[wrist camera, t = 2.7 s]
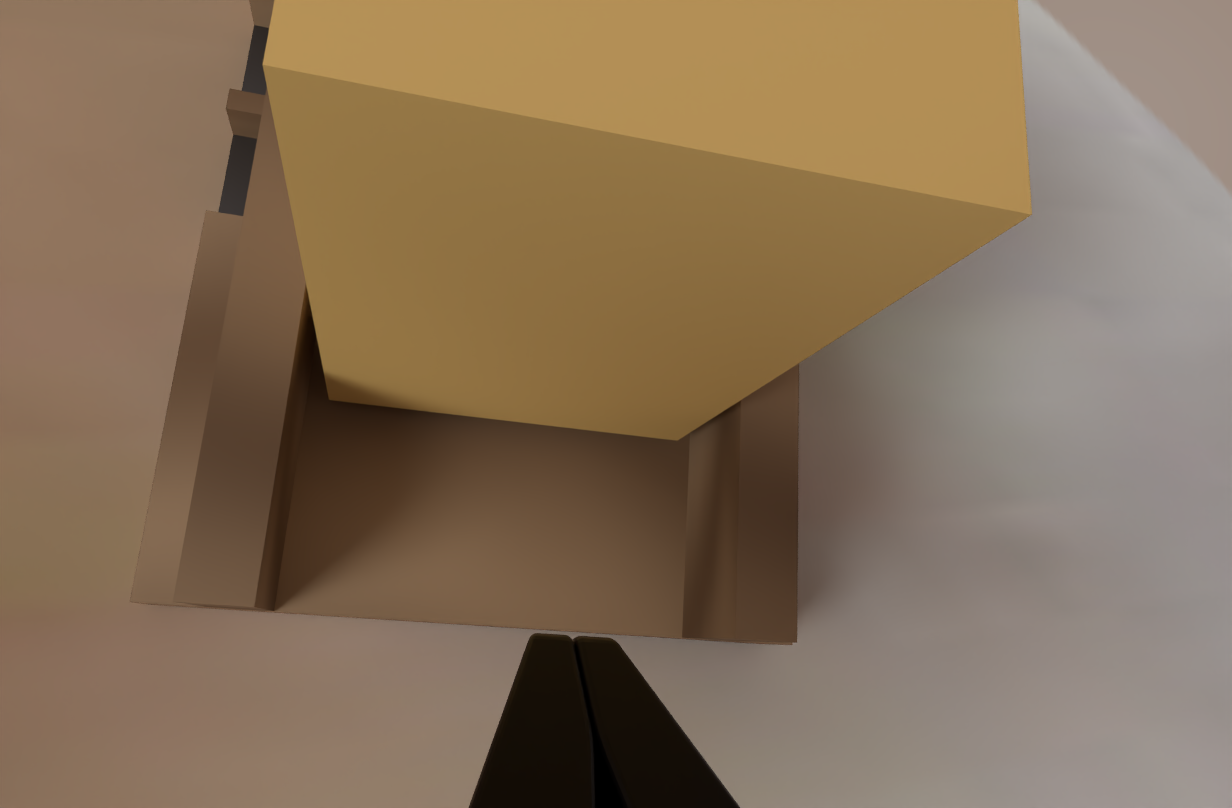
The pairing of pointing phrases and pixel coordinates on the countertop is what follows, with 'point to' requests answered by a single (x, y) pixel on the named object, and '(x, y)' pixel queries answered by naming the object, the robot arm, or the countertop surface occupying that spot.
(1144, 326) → the countertop surface
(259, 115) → the board
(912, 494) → the countertop surface
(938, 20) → the block
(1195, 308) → the countertop surface
